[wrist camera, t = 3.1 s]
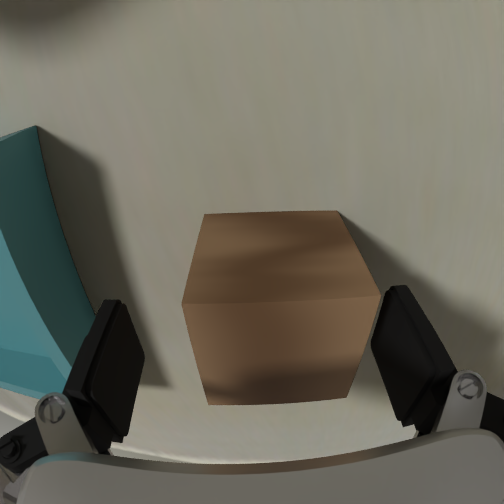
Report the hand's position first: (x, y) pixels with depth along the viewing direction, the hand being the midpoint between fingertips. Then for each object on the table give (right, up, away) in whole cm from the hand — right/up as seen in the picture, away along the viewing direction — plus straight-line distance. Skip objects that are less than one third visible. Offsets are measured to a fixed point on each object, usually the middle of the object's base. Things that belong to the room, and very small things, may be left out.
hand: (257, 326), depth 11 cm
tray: (-16, +1, +2) cm, 17 cm away
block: (+1, +2, +2) cm, 3 cm away
